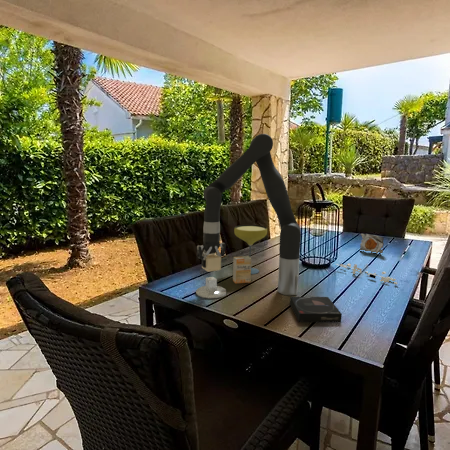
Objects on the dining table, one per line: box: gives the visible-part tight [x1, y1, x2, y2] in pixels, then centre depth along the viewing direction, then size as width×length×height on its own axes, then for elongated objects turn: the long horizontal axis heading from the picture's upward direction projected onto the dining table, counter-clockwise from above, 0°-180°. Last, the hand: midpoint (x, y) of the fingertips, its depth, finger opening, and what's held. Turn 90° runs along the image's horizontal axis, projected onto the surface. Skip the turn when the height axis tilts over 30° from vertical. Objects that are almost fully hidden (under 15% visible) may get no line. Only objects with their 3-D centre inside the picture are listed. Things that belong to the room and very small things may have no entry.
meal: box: [359, 233, 385, 253], centre depth 230 cm, size 15×4×13 cm, turn 53°
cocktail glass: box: [233, 224, 268, 275], centre depth 188 cm, size 18×18×25 cm
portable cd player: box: [289, 296, 342, 323], centre depth 140 cm, size 16×17×4 cm
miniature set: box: [335, 263, 398, 285], centre depth 186 cm, size 6×35×12 cm
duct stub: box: [195, 276, 227, 300], centre depth 158 cm, size 14×14×7 cm
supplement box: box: [232, 255, 252, 285], centre depth 173 cm, size 8×5×13 cm, turn 105°
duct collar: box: [201, 253, 222, 273], centre depth 156 cm, size 7×7×6 cm
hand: (211, 266), depth 156 cm, fingers closed on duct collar, 6 cm apart
